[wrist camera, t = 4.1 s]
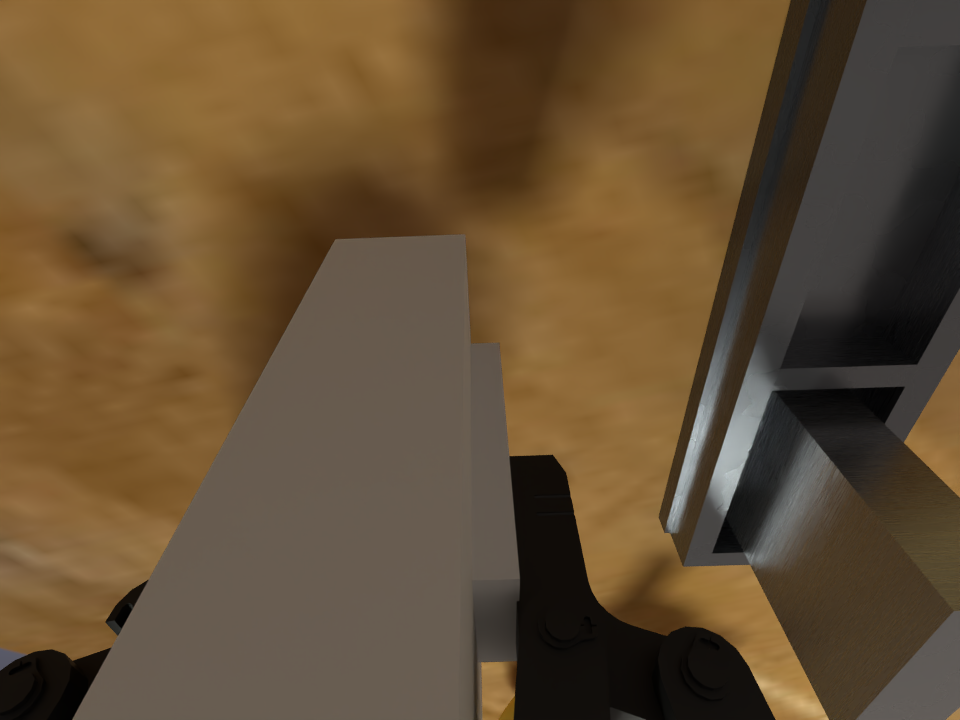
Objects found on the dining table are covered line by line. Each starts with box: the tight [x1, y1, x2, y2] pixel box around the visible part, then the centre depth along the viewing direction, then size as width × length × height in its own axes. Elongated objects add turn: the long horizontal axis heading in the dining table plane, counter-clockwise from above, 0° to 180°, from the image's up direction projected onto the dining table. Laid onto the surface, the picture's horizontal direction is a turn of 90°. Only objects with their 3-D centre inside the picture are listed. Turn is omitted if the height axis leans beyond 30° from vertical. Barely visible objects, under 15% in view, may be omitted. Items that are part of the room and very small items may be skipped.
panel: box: [72, 234, 482, 720], centre depth 10 cm, size 8×3×10 cm, turn 2°
